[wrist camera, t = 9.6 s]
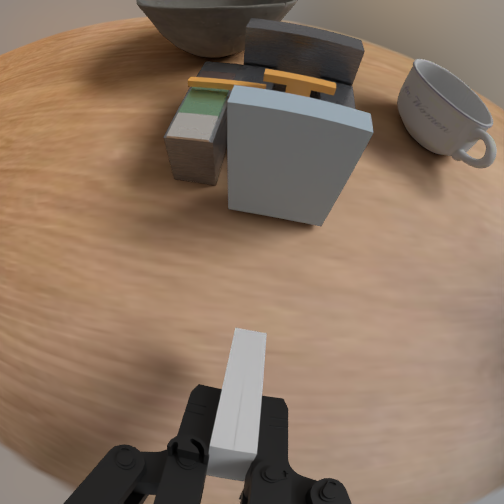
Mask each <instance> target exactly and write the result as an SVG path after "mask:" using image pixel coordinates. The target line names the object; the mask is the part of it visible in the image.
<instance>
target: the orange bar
mask: <svg viewBox="0 0 504 504" xmlns="http://www.w3.org/2000/svg"><path fill="white" fill-rule="evenodd" d="M263 81H265V82H271V83H277V84H283V85H287V86H286V91H285V93H290V94H295V95H300V96H305V97H310V93H311V90H313V91H317V92H321V93H325V94H329V95H333V96H334V94H335V91H336V83H334V82H330V81H326V80H322V79H318V78H314V77H309V76H304V75H299V74H294V73H289V72H284V71H278V70H272V69H265V73H264V79H263ZM234 85H239V86H247V87H254V88H261V89H266V84H259V83H252V82H244V81H236V80H227V79H216V78H203V77H190V78H189V79H188V87H202V88H214V89H225V90H232V89H233V87H234Z"/></svg>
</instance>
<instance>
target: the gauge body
mask: <svg viewBox="0 0 504 504" xmlns="http://www.w3.org/2000/svg"><path fill="white" fill-rule="evenodd" d="M363 54H364V48H363V44H362V41H361V40H358V39H355V38H352V37H348V36H345V35H341V34H337V33H334V32H330V31H325V30H321V29H317V28H312V27H307V26H302V25H297V24H291V23H286V22H279V21H272V20H265V19H256V18H251V19H250V21H249V23H248V24H247V26H246V36H245V52H244V65H240V64H230V63H219V62H205V63H204V65H203V67H202V68H201V70H200V72H199V73H198V75H197V77H203V78H216V79H227V80H236V81H244V82H252V83H259V84H266V89H267V90H273V91H279V92H285V91H286V86H287V85H283V84H277V83H271V82H265V81H263V79H264V73H265V69H272V70H278V71H284V72H289V73H294V74H299V75H304V76H309V77H314V78H318V79H322V80H326V81H330V82H334V83H336V91H335V94H334V96H333V95H329V94H325V93H321V92H317V91H313V90H311V93H310V98H314V99H318V100H323V101H327V102H331V103H335V104H339V105H342V106H346V107H350V108H353V109H355V102H354V94H353V87H352V84H353V81H354V79H355V76H356V73H357V71H358V68H359V65H360V62H361V60H362V57H363ZM231 92H232V90H225V89H214V88H202V87H190V89H189V90H188V92H187V94H186V96H185V97H184V99H183V101H182V103H181V105H180V107H179V108H178V110H177V112H176V114H175V116H174V118H173V120H172V122H171V124H170V126H169V128H168V130H167V132H166V134H165V136H164V141H165V145H166V149H167V153H168V157H169V161H170V165H171V168H172V172H173V176H174V179H176V180H183V181H190V182H197V183H204V184H210V185H216V183H217V179H218V176H219V173H220V169H221V166H222V163H223V159H224V156H225V153H226V150H227V102H228V99H229V97H230V94H231Z"/></svg>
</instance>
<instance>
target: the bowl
mask: <svg viewBox="0 0 504 504" xmlns="http://www.w3.org/2000/svg"><path fill="white" fill-rule="evenodd" d="M297 1H298V0H137V5H138V6H139V7H140V9H141V10H142V11H143V12H144V13H145V14H146V16H147V17H148V18H149V19H150V20H151V22H152V23H153V24H154V25H155V27H156V28H157V29H158V30H159V32H160V33H161V34H162V35H163V36H164V37H166V38H167V39H168V40H169V41H170V42H172V43H173V44H174V45H175V46H177V47H178V48H180V49H182V50H184V51H186V52H188V53H191V54H194V55H197V56H201V57H212V58H214V57H224V56H228V55H232V54H235V53H238V52H241V51H244V50H245V36H246V26H247V24H248V23H249V21H250V19H251V18H256V19H265V20H272V21H279V22H280V21H281V20H282V19H283V18H284V16H285V15H286V14H287V13H288V12H289V11H290V10H291V8H292V7H293V6H294V5H295V3H296V2H297Z"/></svg>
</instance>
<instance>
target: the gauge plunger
mask: <svg viewBox="0 0 504 504" xmlns="http://www.w3.org/2000/svg"><path fill="white" fill-rule="evenodd" d="M372 135H373V126H372V120H371V114H370V113H367V112H364V111H360V110H357V109H353V108H350V107H346V106H342V105H339V104H335V103H331V102H327V101H323V100H318V99H314V98H310V97H305V96H300V95H295V94H290V93H285V92H279V91H273V90H267V89H261V88H254V87H247V86H239V85H234V87H233V89H232V92H231V94H230V97H229V99H228V102H227V155H228V209H232V210H237V211H243V212H249V213H254V214H260V215H265V216H271V217H276V218H281V219H287V220H292V221H297V222H302V223H307V224H312V225H317V226H322V224H323V222H324V221H325V219H326V217H327V215H328V214H329V212H330V210H331V209H332V207H333V205H334V203H335V202H336V200H337V198H338V196H339V195H340V193H341V191H342V189H343V188H344V186H345V184H346V182H347V180H348V179H349V177H350V175H351V173H352V171H353V170H354V168H355V166H356V164H357V162H358V161H359V159H360V157H361V155H362V153H363V151H364V150H365V148H366V146H367V144H368V142H369V140H370V138H371V136H372Z"/></svg>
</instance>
